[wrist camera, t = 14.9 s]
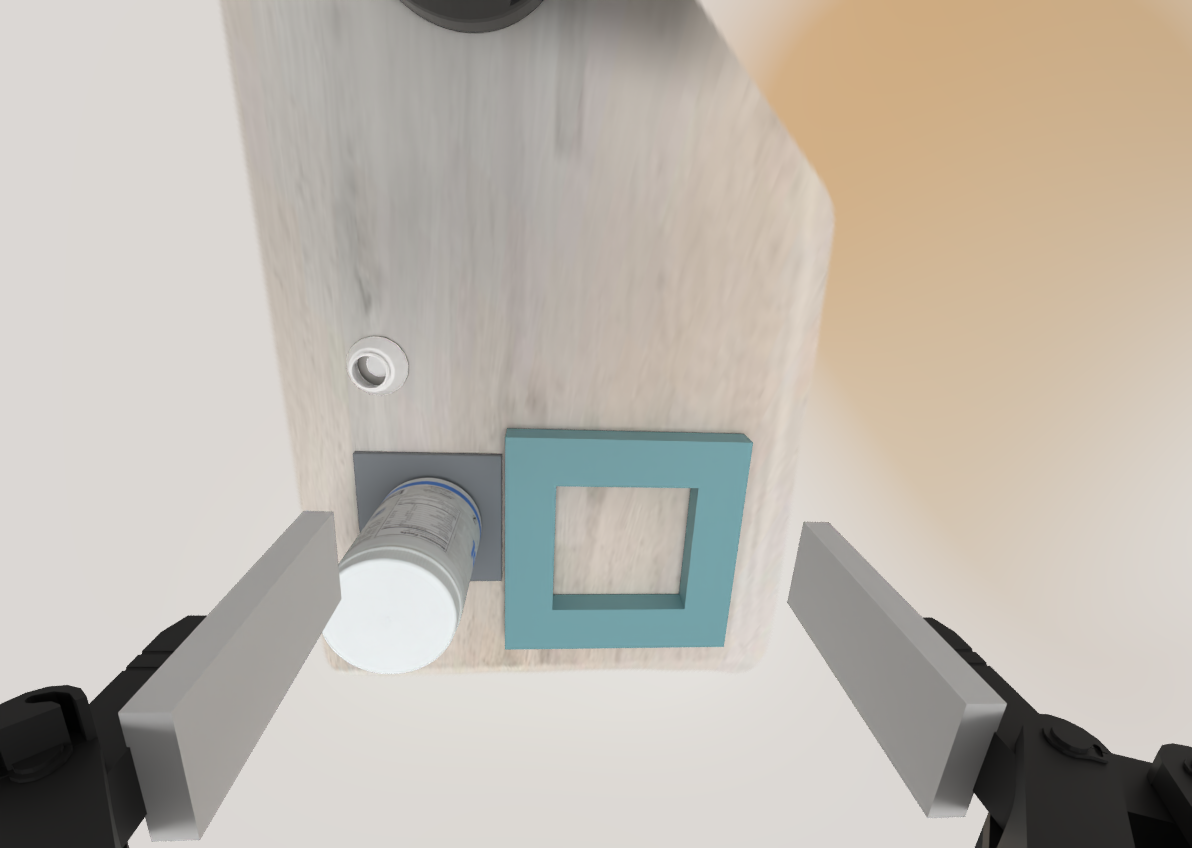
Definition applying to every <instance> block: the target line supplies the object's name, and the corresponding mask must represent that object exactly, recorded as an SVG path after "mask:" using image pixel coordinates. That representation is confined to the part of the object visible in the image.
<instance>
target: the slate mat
mask: <svg viewBox="0 0 1192 848" xmlns="http://www.w3.org/2000/svg"><path fill="white" fill-rule="evenodd" d="M353 460H354V472H355V483H356V494H357V506H358V517H359V529H360V533H361V531H362V530H363V528H364V527H365V525H366V524H367V523H368V521H369V520H370V518H371V517H372V515H373V514H374V513H375V511H376V510H377V508H378V507H379V505H380V504H381V503H382V501H383V500H384V499H385V497H386V496H387V495H388V494H389V493H390V492H391V491H392V490H393V489H394V488H396V487H397V486H399V485H401V484H403V483H405V482H407V481H410V480H414V479H419V478H437V479H442V480H445V481H448V482H451V483H453V484H455V485H457V486H458V487H460V488H461V489H463V490H464V491H465V492H466V493H467V494H468V495H469V496H470V497H471V498H472V499H473V501H474V502H475V504H476V506H477V508H478V510H479V513H480V517H481V525H482V532H481V537H480V542H479V546H478V550H477V554H476V558H475V562H474V567H473V571H472V575H471V579H470V581H502V454H466V453H413V452H361V451H355V452H354V453H353Z"/></svg>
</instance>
